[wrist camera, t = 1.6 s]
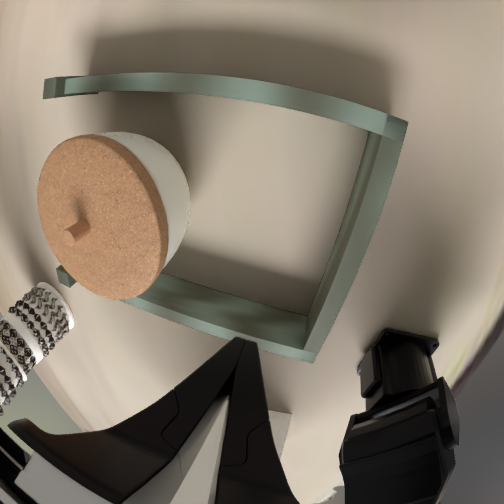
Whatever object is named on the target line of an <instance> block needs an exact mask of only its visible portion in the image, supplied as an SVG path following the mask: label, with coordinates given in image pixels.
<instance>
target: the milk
mask: <svg viewBox="0 0 504 504" xmlns="http://www.w3.org/2000/svg"><path fill="white" fill-rule="evenodd" d="M227 402H228V401H226V402H225V404H224V406H223V408H222V410H221V412H220V414H219V415H218V417H217V419H216V421H215V423H214V425H213V427H212V429H211V431H210V433H209V435H208V436H207V438H206V440H205V442H204V444H203V446H202V448H201V450H200V451H199V453H198V455H197V457H196V459H195V461H194V462H193V464H192V466H191V468H190V470H189V471H188V473H187V475H186V477H185V478H184V480H183V482H182V484H181V486H180V487H179V489H178V491H177V493H176V494H175V496H174V498H173V499H172V501H171V503H170V504H208V499H209V494H210V489H211V484H212V479H213V474H214V469H215V464H216V458H217V453H218V448H219V443H220V438H221V433H222V428H223V423H224V418H225V412H226V407H227ZM268 412H269V420H270V423H271V429H272V434H273V439H274V443H275V446H276V450H277V453H278V456H279V459H280V458H281V454H282V450H283V447H284V443H285V439H286V435H287V432H288V428H289V424H290V420H291V416H292V414H287V413H281V412H276V411H270V410H268Z"/></svg>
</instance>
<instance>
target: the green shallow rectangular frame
mask: <svg viewBox="0 0 504 504" xmlns="http://www.w3.org/2000/svg"><path fill="white" fill-rule="evenodd" d="M102 91H157V92H176V93H189V94H200V95H210V96H218V97H226V98H233V99H240V100H246V101H252V102H258V103H264V104H269V105H274V106H279V107H284V108H288V109H293V110H297V111H302V112H306V113H310V114H314V115H318V116H322V117H325V118H329V119H333V120H336V121H340V122H343V123H346V124H350V125H353V126H356V127H359V128H362V129H365V130H368V131H369V134H368V138H367V142H366V146H365V149H364V153H363V157H362V160H361V164H360V167H359V171H358V174H357V177H356V181H355V184H354V187H353V191H352V194H351V197H350V200H349V203H348V207H347V210H346V213H345V216H344V219H343V222H342V225H341V228H340V231H339V234H338V237H337V240H336V242H335V245H334V248H333V251H332V254H331V257H330V259H329V262H328V265H327V267H326V270H325V273H324V276H323V278H322V281H321V283H320V286H319V289H318V291H317V294H316V296H315V299H314V301H313V304H312V306H311V309H310V311H309V314H308V316H304V315H300V314H296V313H292V312H289V311H285V310H281V309H278V308H274V307H271V306H267V305H264V304H260V303H257V302H253V301H250V300H246V299H243V298H240V297H236V296H233V295H230V294H226V293H223V292H220V291H217V290H213V289H210V288H207V287H204V286H201V285H197V284H194V283H191V282H188V281H185V280H182V279H179V278H176V277H173V276H170V275H167V274H164V273H160V274H159V276H158V277H157V278H156V280H155V281H154V282H153V284H152V285H151V286H150V287H149V288H148V289H147V290H146V291H144V292H143V293H142V294H140V295H138V296H136V297H134V298H129V299H118V300H120V301H123V302H125V303H128V304H130V305H132V306H135V307H137V308H140V309H142V310H145V311H147V312H150V313H152V314H155V315H158V316H160V317H163V318H166V319H168V320H171V321H174V322H176V323H179V324H182V325H185V326H188V327H190V328H193V329H196V330H199V331H202V332H205V333H208V334H211V335H214V336H217V337H220V338H223V339H226V340H232V339H233V338H234V337H236V336H238V337H241V338H244V339H246V340H251V341H255V342H257V345H258V349H260V350H263V351H267V352H270V353H274V354H278V355H281V356H285V357H289V358H293V359H297V360H301V361H305V362H309V363H313V362H314V361H315V359H316V357H317V355H318V353H319V351H320V349H321V347H322V346H323V344H324V342H325V340H326V338H327V336H328V334H329V332H330V330H331V328H332V326H333V324H334V322H335V320H336V318H337V316H338V314H339V311H340V309H341V307H342V305H343V303H344V301H345V299H346V297H347V294H348V292H349V290H350V288H351V285H352V283H353V281H354V279H355V276H356V274H357V272H358V269H359V267H360V265H361V262H362V260H363V257H364V255H365V253H366V250H367V248H368V245H369V243H370V240H371V237H372V235H373V232H374V230H375V227H376V224H377V222H378V219H379V216H380V213H381V211H382V208H383V205H384V202H385V199H386V196H387V193H388V190H389V187H390V184H391V181H392V178H393V175H394V172H395V168H396V165H397V162H398V158H399V155H400V152H401V148H402V145H403V141H404V137H405V133H406V130H407V126H408V122H407V121H405V120H402V119H400V118H397V117H394V116H392V115H389V114H386V113H384V112H381V111H378V110H375V109H372V108H369V107H366V106H363V105H360V104H357V103H354V102H350V101H347V100H344V99H340V98H337V97H333V96H329V95H325V94H322V93H318V92H314V91H309V90H305V89H301V88H296V87H291V86H286V85H281V84H276V83H270V82H264V81H258V80H252V79H244V78H237V77H228V76H219V75H207V74H193V73H167V72H144V73H118V74H104V75H94V76H67V77H54V78H49V79H45V82H44V92H43V99H49V98H57V97H66V96H75V95H87V94H98V92H102ZM56 271H57V275H58V279H59V282H60V283H62V284H64V285H66V286H67V287H69V288H70V287H71V286H72V285H74V284H75V283H76V282H77V281H76V280H75V279H74V278H73V277H72V276H71V275H70V274H69V273H68V272H67V271H66V270H65V269H64V267H63V266H62V265H60V266H59V267H58V268H56Z"/></svg>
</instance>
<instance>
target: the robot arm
mask: <svg viewBox="0 0 504 504" xmlns="http://www.w3.org/2000/svg"><path fill="white" fill-rule="evenodd" d="M386 334H388V335H386ZM433 344H434V345H433ZM438 346H439V341H438V339H434V338H429V337H425V336H420V335H416V334H411V333H407V332H402V331H398V330H393V329H385V330H383V331H382V333H381V334H380V336H379V338H378V339H377V341H376V342H375V344H374V345H373V346H372V347H371V348H370V349H369V351H368V352H367V354H366V355H365V357H364V358H363V360H362V361H361V363H360V366H359V368H358V369H357V375H358V376H360V378H361V396H362V398H366V411H365V412H362V413H360V414H354V415H351V417H350V420H349V424H348V427H347V430H346V433H345V436H344V439H343V442H342V445H341V448H340V453H339V461H340V466H339V468H340V470H341V473H342V476H343V480H344V486H345V504H440V500H441V498H442V496H443V494H444V491H445V489H446V487H447V485H448V482H449V480H450V478H451V476H452V473H453V471H454V468H455V465H456V460H455V454H454V448H455V447H457V446H458V445H459V437H460V416H459V413H458V409H457V405H456V401H455V398H454V396H453V394H452V392H451V390H450V388H449V387H448V385H447V383H446V381H445V379H444V377H443V376H442V377H440V378H438V379H437V376H436V372H435V368H434V364H433V361H432V357H431V355H432V354H433V353H434V352H435V350H436V349H437V348H438ZM228 396H229V397H228ZM227 398H228V402H227V407H226V412H225V418H224V423H223V428H222V433H221V438H220V443H219V448H218V453H217V458H216V464H215V469H214V474H213V479H212V484H211V489H210V494H209V499H208V504H300V503H299V502H298V501H297V499H296V498H295V497H294V495H293V493H292V491H291V489H290V487H289V485H288V482H287V479H286V477H285V474H284V471H283V468H282V465H281V462H280V459H279V456H278V453H277V450H276V446H275V443H274V439H273V434H272V429H271V423H270V420H269V412H268V406H267V400H266V394H265V388H264V382H263V376H262V370H261V364H260V357H259V351H258V345H257V342H255V341H251V340H246V339H244V338H241V337H238V336H236V337H234V338H233V339H232V340H230V341H229V342H228V343H227V344H226V345H225V346H224V347H222V348H221V349H220V350H219V351H218V352H217V353H215V354H214V355H213V356H212V357H211V358H210V359H208V360H207V361H206V362H205V363H204V364H203V365H201V366H200V367H199V368H198V369H197V370H195V371H194V372H193V373H192V374H191V375H189V376H188V377H187V378H186V379H185V380H183V381H182V382H181V383H180V384H178V385H177V386H176V387H175V388H174V389H172V390H171V391H170V392H168V393H167V394H166V395H165V396H163V397H162V398H161V399H159V400H158V401H156V402H155V403H153V404H152V405H150V406H149V407H147V408H146V409H144V410H142V411H140V412H139V413H137V414H135V415H133V416H132V417H130V418H128V419H126V420H124V421H123V422H121V423H119V424H117V425H115V426H113V427H110V428H108V429H105V430H100V431H93V432H84V433H74V434H63V435H55V434H49V433H46V432H44V431H43V430H41V429H40V428H38V427H37V426H36V425H35V424H34V423H32V422H31V421H30V420H28V419H26V418H25V419H20V420H16V421H13V422H11V423H9V424H8V427H9V428H10V429H11V430H12V431H13V432H14V433H15V434H16V435H17V436H18V437H19V438H20V439H21V440H23V441H24V442H25V443H26V444H27V445H28V446H29V447H31V448H32V449H33V450H34V452H33V453H32V455H31V456H30V455H29V454H28V453H27V452H26V451H25V450H24V449H23V448H21V447H20V446H19V445H18V444H17V443H16V442H15V441H14V440H13V439H12V438H11V437H10V436H9V435H8V434H7V433H6V432H5V431H4V430H3V429H2V428H1V427H0V504H170V503H171V501H172V499H173V498H174V496H175V494H176V493H177V491H178V489H179V487H180V486H181V484H182V482H183V480H184V478H185V477H186V475H187V473H188V471H189V470H190V468H191V466H192V464H193V462H194V461H195V459H196V457H197V455H198V453H199V451H200V450H201V448H202V446H203V444H204V442H205V440H206V438H207V436H208V435H209V433H210V431H211V429H212V427H213V425H214V423H215V421H216V419H217V417H218V415H219V414H220V412H221V410H222V408H223V406H224V404H225V402H226V400H227Z"/></svg>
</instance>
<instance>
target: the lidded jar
mask: <svg viewBox="0 0 504 504" xmlns="http://www.w3.org/2000/svg"><path fill="white" fill-rule="evenodd" d="M38 210H39V216H40V220H41V224H42V228H43V231H44V234H45V236H46V239H47V241H48V243H49V245H50V247H51V249H52V251H53V253H54V255H55V256H56V258H57V259H58V261H59V262H60V263H61V265H62V266H63V267H64V269H65V270H66V271H67V272H68V273H69V274H70V275H71V276H72V277H73V278H74V279H75V280H76V281H77V282H78V283H80V284H81V285H82V286H84V287H85V288H87V289H88V290H90V291H92V292H93V293H95V294H97V295H100V296H103V297H106V298H110V299H129V298H134V297H136V296H138V295H140V294H142V293H143V292H144V291H146V290H147V289H148V288H149V287H150V286H151V285H152V284H153V282H154V281H155V280H156V278H157V277H158V276H159V274H160V273H161V271H162V270H163V268H164V267H165V266H166V265H167V263H168V262H169V261H170V260H171V258H172V257H173V256H174V254H175V252H176V251H177V249H178V247H179V245H180V244H181V242H182V240H183V237H184V235H185V233H186V229H187V226H188V222H189V216H190V192H189V187H188V183H187V180H186V177H185V175H184V173H183V170H182V168H181V167H180V165H179V164H178V162H177V160H176V159H175V158H174V157H173V155H172V154H171V153H170V152H169V151H168V150H167V149H166V148H164V147H163V146H162V145H160V144H159V143H157V142H156V141H154V140H152V139H150V138H148V137H145V136H143V135H139V134H134V133H128V132H104V133H98V134H91V135H81V136H77V137H73V138H70V139H68V140H65V141H64V142H62V143H61V144H59V145H58V146H57V147H56V148H55V149H54V150H53V151H52V152H51V154H50V155H49V157H48V158H47V160H46V162H45V164H44V166H43V168H42V171H41V175H40V178H39V184H38Z"/></svg>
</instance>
